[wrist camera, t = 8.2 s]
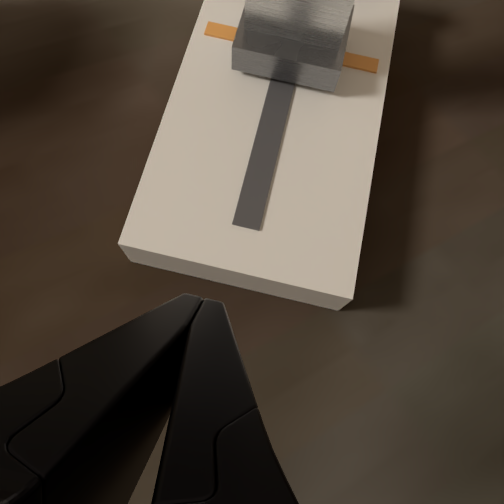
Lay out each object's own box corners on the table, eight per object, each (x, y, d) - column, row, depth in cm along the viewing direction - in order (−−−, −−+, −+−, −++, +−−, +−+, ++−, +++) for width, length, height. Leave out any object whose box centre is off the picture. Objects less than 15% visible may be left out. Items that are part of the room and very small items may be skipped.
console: (338, 310, 20) (363, 291, 16) (130, 261, 20) (108, 230, 16) (386, 21, 26) (413, -44, 22) (224, -15, 26) (223, -85, 22)
